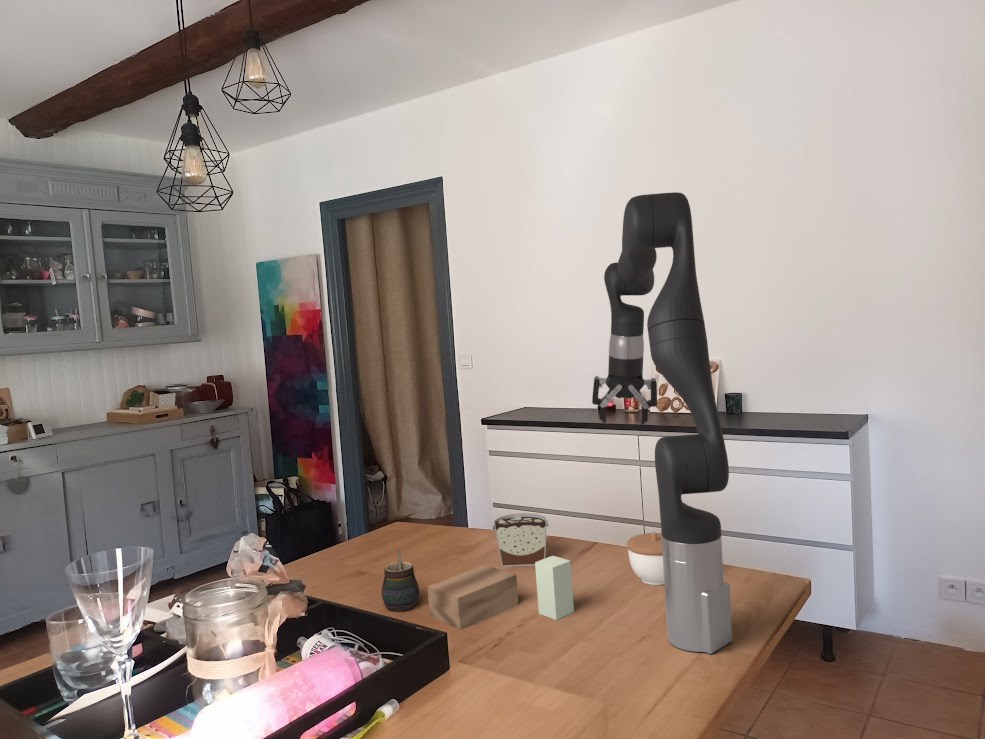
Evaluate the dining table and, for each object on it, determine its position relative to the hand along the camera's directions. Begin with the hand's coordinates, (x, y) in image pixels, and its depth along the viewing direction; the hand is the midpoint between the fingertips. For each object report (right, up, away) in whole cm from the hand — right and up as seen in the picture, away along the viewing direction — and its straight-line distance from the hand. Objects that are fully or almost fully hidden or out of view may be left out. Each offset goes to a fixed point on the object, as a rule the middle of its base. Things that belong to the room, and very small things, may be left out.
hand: (623, 422), depth 167 cm
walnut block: (-33, -33, -30) cm, 55 cm away
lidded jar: (+3, -30, -21) cm, 37 cm away
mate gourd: (-47, -34, -25) cm, 63 cm away
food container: (-23, -30, -5) cm, 38 cm away
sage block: (-18, -32, -34) cm, 50 cm away
